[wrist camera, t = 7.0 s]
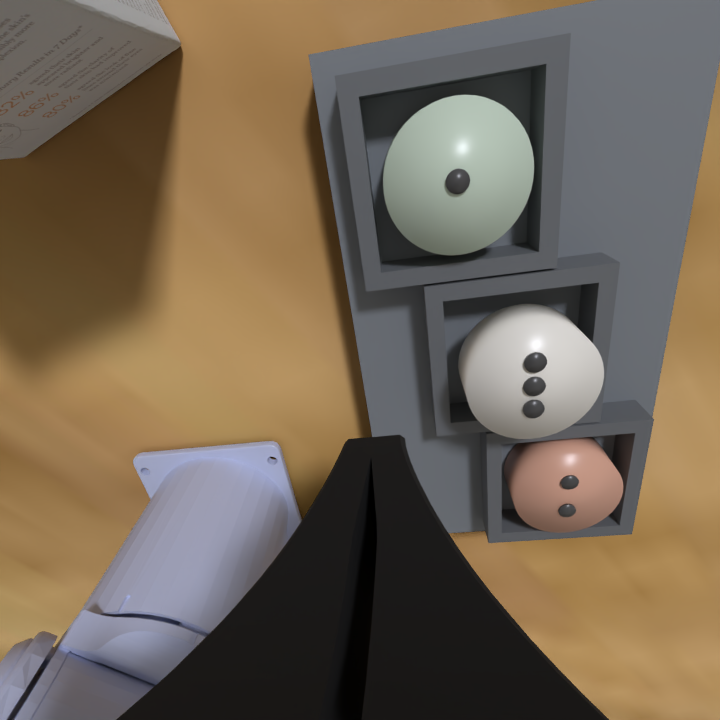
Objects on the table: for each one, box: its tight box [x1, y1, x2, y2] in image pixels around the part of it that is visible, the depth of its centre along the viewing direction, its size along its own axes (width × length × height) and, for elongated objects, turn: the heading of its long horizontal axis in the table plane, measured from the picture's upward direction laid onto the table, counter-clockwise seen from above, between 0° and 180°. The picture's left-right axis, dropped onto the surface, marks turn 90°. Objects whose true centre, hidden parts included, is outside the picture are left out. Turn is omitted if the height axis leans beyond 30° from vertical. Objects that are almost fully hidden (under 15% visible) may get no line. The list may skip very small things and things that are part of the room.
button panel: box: [309, 0, 720, 543], centre depth 18 cm, size 21×12×3 cm, turn 8°
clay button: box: [504, 437, 623, 533], centre depth 19 cm, size 4×4×2 cm
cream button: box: [458, 304, 604, 439], centre depth 15 cm, size 4×4×2 cm
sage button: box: [383, 95, 534, 255], centre depth 14 cm, size 4×4×2 cm
